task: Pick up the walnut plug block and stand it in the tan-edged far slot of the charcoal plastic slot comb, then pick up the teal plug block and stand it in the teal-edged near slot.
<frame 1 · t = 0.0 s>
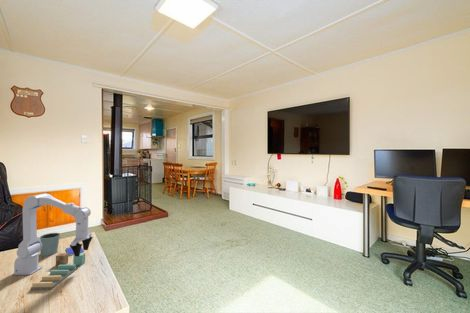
hand: (81, 252, 120), 10 cm above the table, tool pointing down, fingers open, 7 cm apart
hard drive: (74, 251, 144), on the table
grey-green bucket: (49, 253, 140), on the table
walnut plug: (61, 264, 126), on the table
teal plug: (79, 264, 127), on the table
slot comb: (55, 278, 112), on the table
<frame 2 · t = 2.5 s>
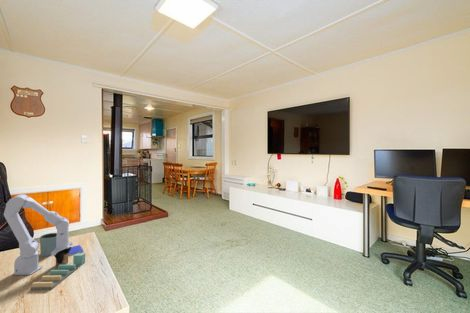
hand: (62, 261, 126), 2 cm above the table, tool pointing down, fingers closed on walnut plug, 3 cm apart
walnut plug: (61, 264, 126), on the table, touching gripper
everything else where it was.
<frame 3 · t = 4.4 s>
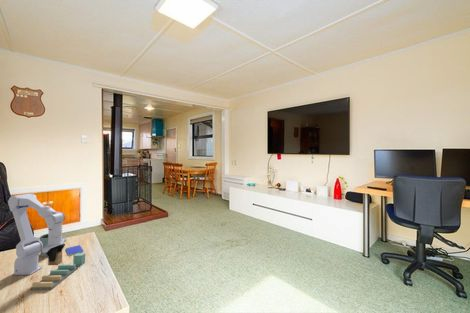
hand: (54, 259, 115), 9 cm above the table, tool pointing down, fingers closed on walnut plug, 3 cm apart
walnut plug: (55, 263, 115), point 6 cm above the table, touching gripper
everything else where it was.
when the fingers open (4 cm above the table, at t = 6.3 s): walnut plug stays where it is, resting on slot comb.
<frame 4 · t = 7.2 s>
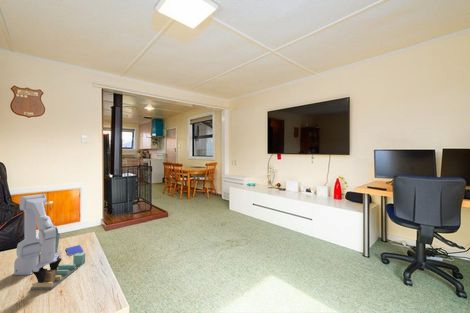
hand: (47, 277, 106), 4 cm above the table, tool pointing down, fingers open, 7 cm apart
walnut plug: (47, 283, 106), point 1 cm above the table, touching slot comb
everything else where it was.
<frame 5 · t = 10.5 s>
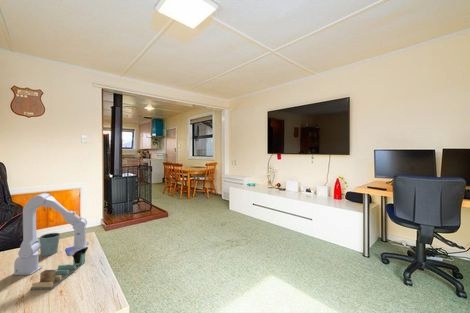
hand: (79, 261, 127), 2 cm above the table, tool pointing down, fingers closed on teal plug, 3 cm apart
teal plug: (79, 264, 127), on the table, touching gripper
everything else where it was.
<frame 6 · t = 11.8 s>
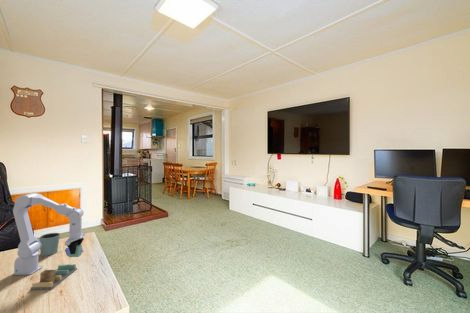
hand: (74, 252, 124), 9 cm above the table, tool pointing down, fingers closed on teal plug, 3 cm apart
teal plug: (75, 255, 124), point 6 cm above the table, touching gripper
everything else where it was.
when the fingers open (4 cm above the table, at t = 13.4 s): teal plug stays where it is, resting on slot comb.
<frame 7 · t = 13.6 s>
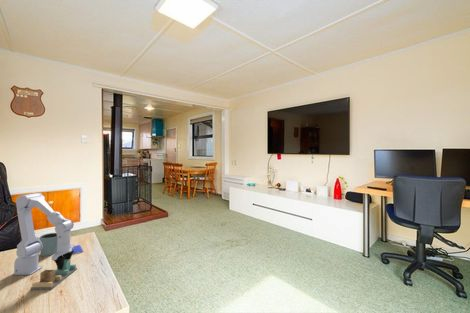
hand: (63, 266, 117), 4 cm above the table, tool pointing down, fingers open, 4 cm apart
teal plug: (63, 271, 117), point 1 cm above the table, touching slot comb
everything else where it was.
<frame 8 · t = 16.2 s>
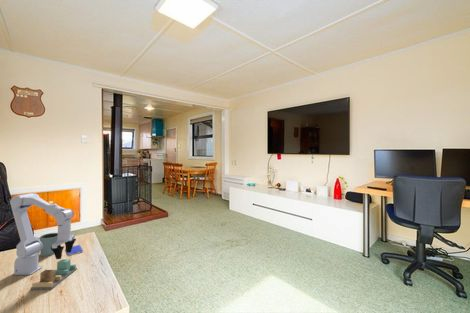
hand: (63, 255, 117), 10 cm above the table, tool pointing down, fingers open, 7 cm apart
nothing on the table moved.
at the end: walnut plug 0.2 cm from the target spot on the slot comb, point 1.0 cm above the slot comb's base; teal plug 0.2 cm from the target spot on the slot comb, point 1.0 cm above the slot comb's base; teal plug tilted 0° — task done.
